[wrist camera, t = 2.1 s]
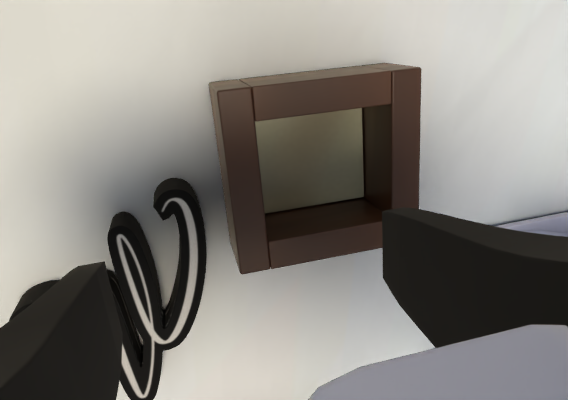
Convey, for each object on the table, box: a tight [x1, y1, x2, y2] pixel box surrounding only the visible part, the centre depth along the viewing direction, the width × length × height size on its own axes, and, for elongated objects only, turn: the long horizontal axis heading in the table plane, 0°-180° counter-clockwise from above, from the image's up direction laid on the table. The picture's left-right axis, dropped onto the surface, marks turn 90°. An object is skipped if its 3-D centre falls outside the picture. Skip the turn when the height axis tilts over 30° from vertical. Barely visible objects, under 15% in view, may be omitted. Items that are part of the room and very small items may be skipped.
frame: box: [209, 63, 421, 274], centre depth 19 cm, size 8×7×3 cm
